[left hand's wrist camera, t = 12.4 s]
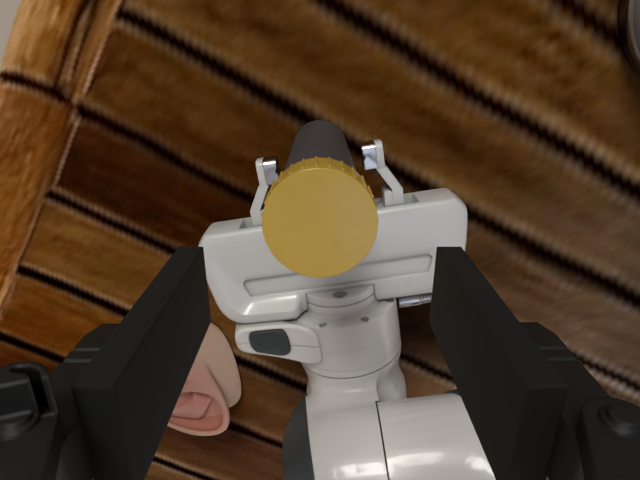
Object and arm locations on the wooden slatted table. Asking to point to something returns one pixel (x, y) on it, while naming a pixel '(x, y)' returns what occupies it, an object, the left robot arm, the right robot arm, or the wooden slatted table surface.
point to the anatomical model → (208, 388)
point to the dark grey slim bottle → (319, 143)
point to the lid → (320, 217)
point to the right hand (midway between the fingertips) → (318, 149)
